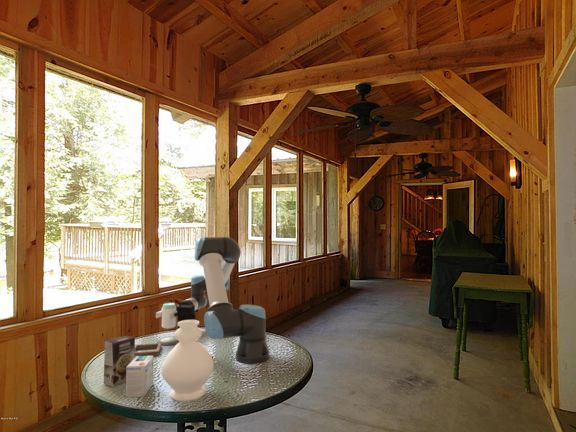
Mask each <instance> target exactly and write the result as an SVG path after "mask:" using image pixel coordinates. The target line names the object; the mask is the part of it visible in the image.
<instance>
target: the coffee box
mask: <svg viewBox="0 0 576 432" xmlns="http://www.w3.org/2000/svg"><path fill="white" fill-rule="evenodd" d="M135 345H136V337H135V336H129V335H122V336H118V337H114V338H111V339H107V340H104V359H103V360H104V361H103V384H105V385H107V386H109V387H111V388H113V387H114V388H115V387H117V386H119V385H123V384H126V367H127V366H128V365H129V364H130V363H131V361H132V360H133V359H134V358H135Z"/></svg>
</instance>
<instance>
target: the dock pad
mask: <svg viewBox="0 0 576 432" xmlns="http://www.w3.org/2000/svg"><path fill="white" fill-rule="evenodd" d="M155 343H161V347H162V346H167V347H168V346H174V345H175V346H176V345H177V339H176V338H175V335H174V336H172V335H171V336H164V337H160V338H158V339H156V342H155Z"/></svg>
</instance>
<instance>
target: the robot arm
mask: <svg viewBox="0 0 576 432" xmlns="http://www.w3.org/2000/svg"><path fill="white" fill-rule="evenodd" d="M241 253H242V251H241V248H240V245H239V244H238V242H237V241H236V240H235V239H233V238H232V237H229V236H228V237H227V236H223V237H222V236H215V237H214V236H208V237H206V236H204V237H198V238H197V239H196V242H195V247H194V260H195V261H197V262H198V263H199V265H200V266H201V267H203V275H202V274H199V275H197V274H196V275H192V276H191V278H190V279H191V280H190V282H191V283H190V298H188V299H187V298H186V299H184V300H181V301H180V302H179V304H181V305H195V311H197V310H200V309H203V308H205V306H206V305H207V304H208V305H209V307H208V308H207V310H206V312H205V314H204V317H203V322H204V329H205V332H206V335H207V337H208V338H210V339H211V340H223V339H229V338H237V337H239V341H238V345H237V348H236V351H235V360H236V361H237V362H240V363H242V364H260V363H263V362H267V361H268V360H269V359H270V350H269V348H268V344H267V340H266V323H267V322H266V319H267V318H266V317H267V316H266V310H265V308H264V307H262V306H260V305H255V304H241V305H240V306H239V308H238V309H234V307H233V305H234V304H232V302H231V303H230V302H229V299H228V293H227V290H229V289H230V280H229V277H230V276H231V273H232V271H233V269H234V267H235V264H236V263H238V262H239V260H240V258H241V255H242V254H241ZM205 292H207V296H206V295H205ZM179 304H177V305H175V306H176V311H175V312H172V313H170V314H169V319H172V318H175V317H176V318H178V313H177V307H178V306H179ZM155 318H156V319H158V318H162V308H160V311H157V312H155Z"/></svg>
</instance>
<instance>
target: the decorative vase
mask: <svg viewBox="0 0 576 432" xmlns="http://www.w3.org/2000/svg"><path fill="white" fill-rule="evenodd" d="M199 325H200V320H183V321H180V322H178V321H177V327H178V326H179V327H180V328H179V329H178V328H177V329H176V330H175V332H174V336H175V338H176V339H177V340H178V341H179V343H178V344H175V346H173V348H171V350H170V351H169V352H168V353H167V355H166V357H165V358H164V360H163V363H162V365H161V375H162V378H163V379H164V381H165V382H166V383H167V385H169V386H170V388H171V390H169V395H168V396H169V398H170V399H172V400H173V401H177V402H189V401H194V400H197V399H200V398H201V397H203V396H204V395H205V394H206V393H207V389H206V387H205V386H204V385H205V384H206V382H207V381H208V379H209V378H210V377H211V375H212V373H213V371H214V360H213V357H212V355H211V353H210V352H209V350H207V348H206V347H205V346H204V345H203V344H202V343H200V341H199V339H200V338H201V336H203V335H202V334H203V333H202V332H203V331H202V329H201V328H200V327H198V326H199Z"/></svg>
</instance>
